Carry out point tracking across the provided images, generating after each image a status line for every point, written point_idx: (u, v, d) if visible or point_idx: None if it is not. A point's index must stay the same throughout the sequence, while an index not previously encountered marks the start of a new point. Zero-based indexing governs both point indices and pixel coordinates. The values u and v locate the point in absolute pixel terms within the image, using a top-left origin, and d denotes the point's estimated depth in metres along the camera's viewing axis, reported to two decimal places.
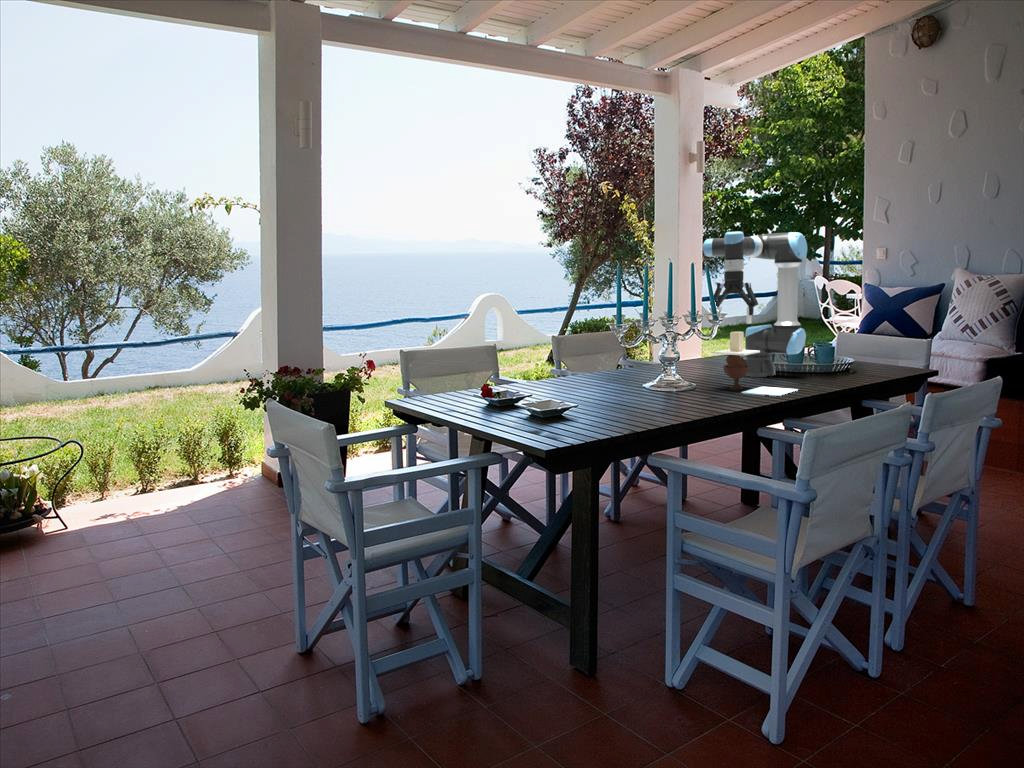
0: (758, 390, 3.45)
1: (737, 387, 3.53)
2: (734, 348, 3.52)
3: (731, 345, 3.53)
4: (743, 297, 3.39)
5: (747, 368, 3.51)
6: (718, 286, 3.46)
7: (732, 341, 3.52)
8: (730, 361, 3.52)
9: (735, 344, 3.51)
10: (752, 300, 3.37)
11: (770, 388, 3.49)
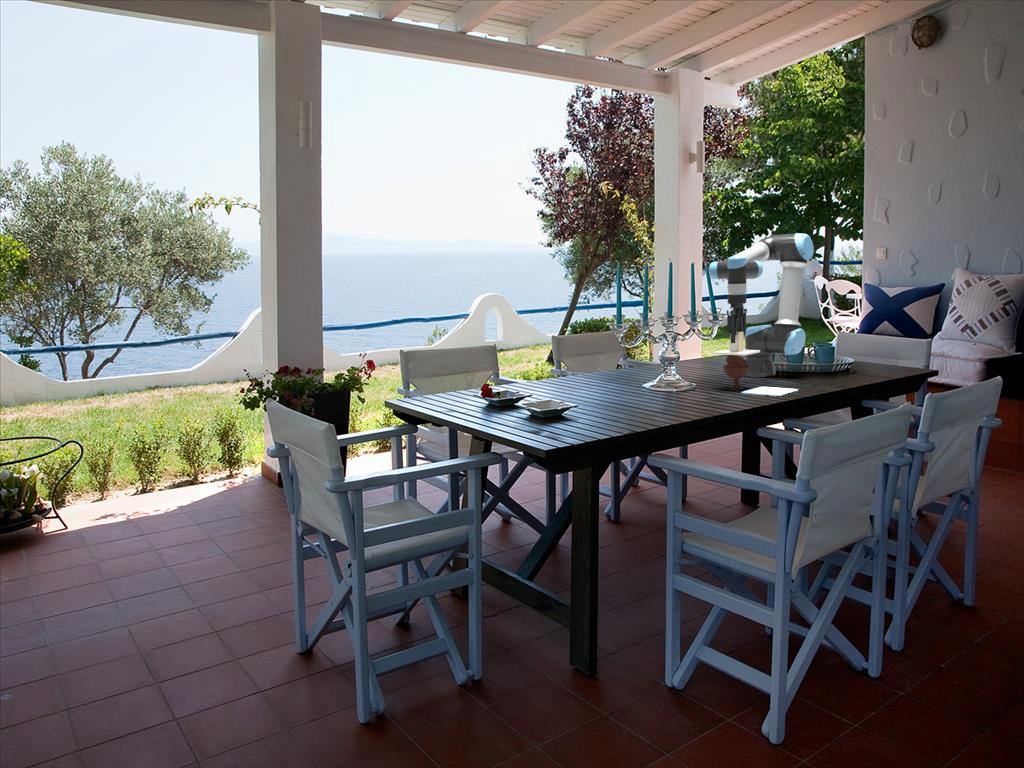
0: (758, 390, 3.45)
1: (737, 387, 3.53)
2: None
3: None
4: None
5: (747, 368, 3.51)
6: None
7: None
8: (730, 361, 3.52)
9: None
10: None
11: (770, 388, 3.49)
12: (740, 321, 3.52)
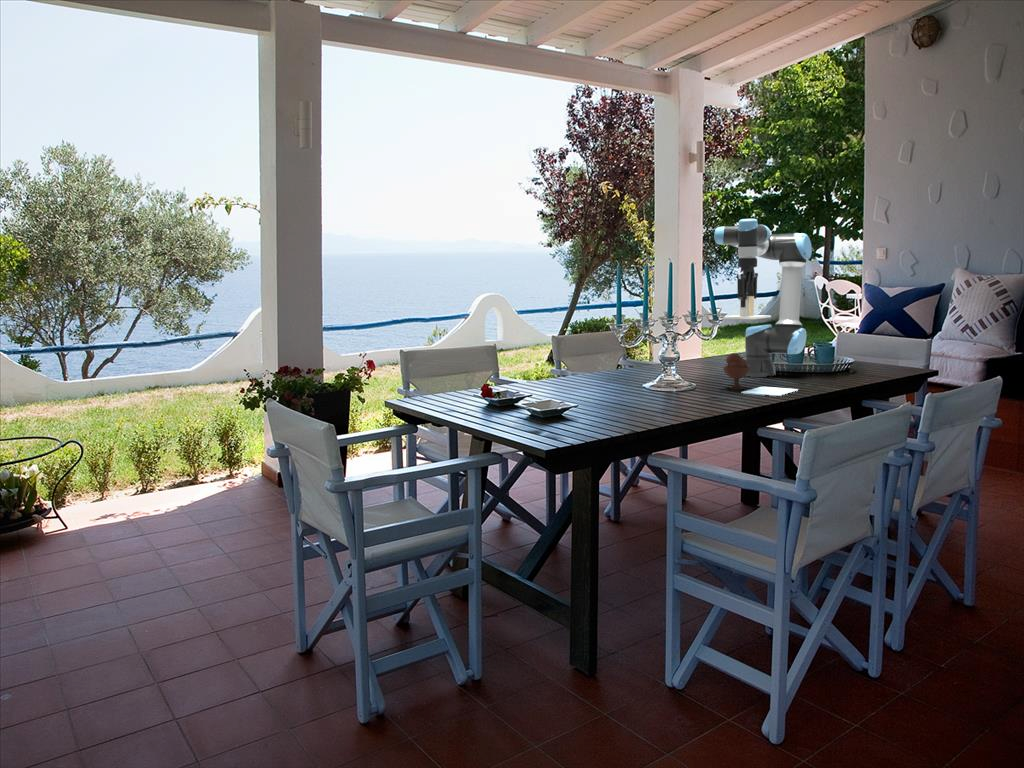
0: (758, 390, 3.45)
1: (737, 387, 3.53)
2: None
3: None
4: None
5: (747, 368, 3.51)
6: None
7: None
8: (730, 361, 3.52)
9: None
10: None
11: (770, 388, 3.49)
12: (751, 285, 3.46)
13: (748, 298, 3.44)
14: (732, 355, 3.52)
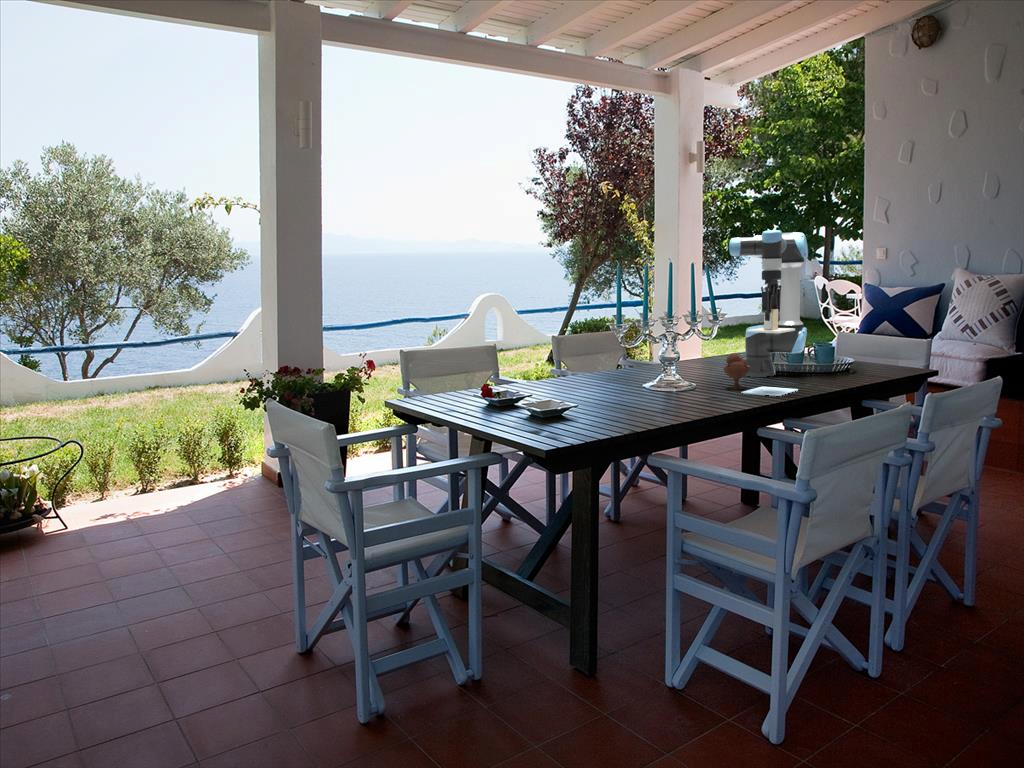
0: (758, 390, 3.45)
1: (737, 387, 3.53)
2: None
3: None
4: None
5: (747, 368, 3.51)
6: None
7: None
8: (730, 361, 3.52)
9: None
10: None
11: (770, 388, 3.49)
12: (774, 298, 3.39)
13: (772, 311, 3.36)
14: (732, 355, 3.52)
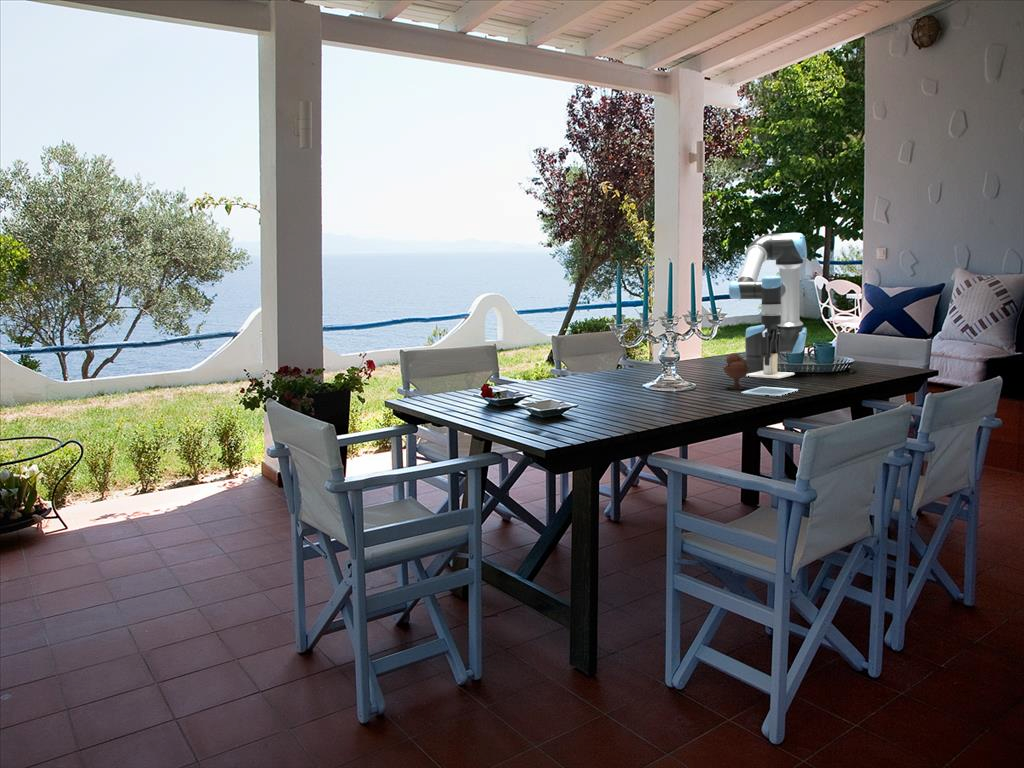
0: (758, 390, 3.45)
1: (737, 387, 3.53)
2: None
3: None
4: None
5: (747, 368, 3.51)
6: None
7: None
8: (730, 361, 3.52)
9: None
10: None
11: (770, 388, 3.49)
12: (774, 342, 3.41)
13: (772, 356, 3.39)
14: (732, 355, 3.52)
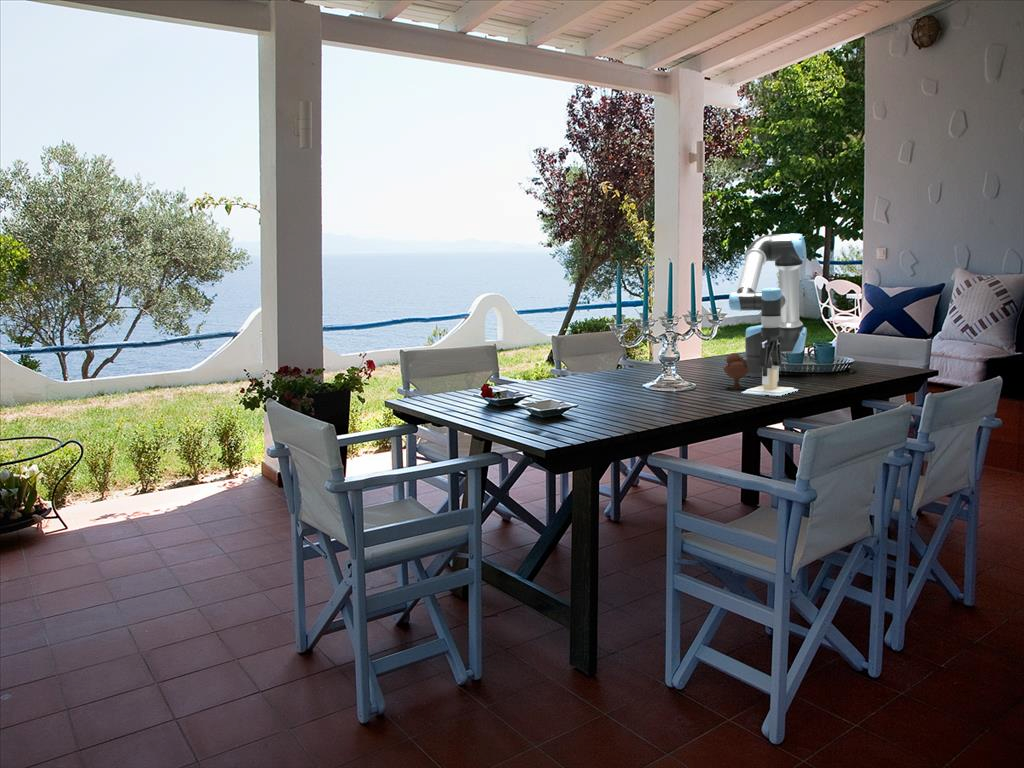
0: None
1: (737, 387, 3.53)
2: (768, 385, 3.42)
3: None
4: None
5: (747, 368, 3.51)
6: None
7: None
8: (730, 361, 3.52)
9: (769, 382, 3.41)
10: None
11: None
12: (775, 353, 3.43)
13: (772, 371, 3.40)
14: (732, 355, 3.52)
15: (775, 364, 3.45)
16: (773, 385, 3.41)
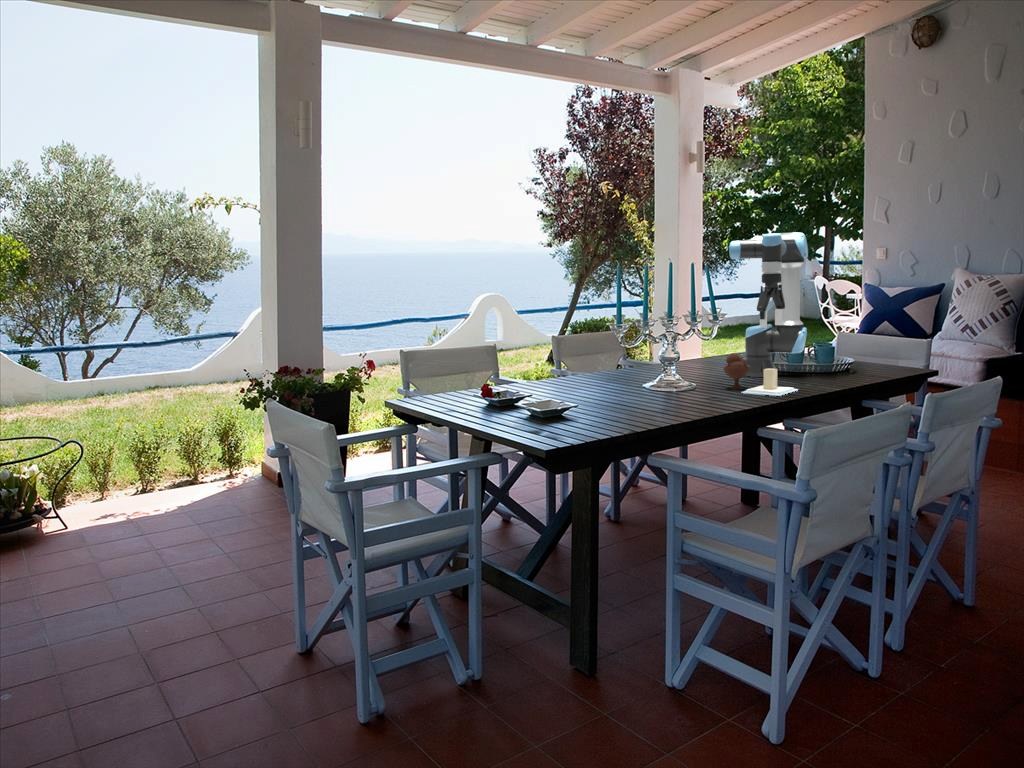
0: None
1: (737, 387, 3.53)
2: (768, 385, 3.42)
3: (764, 383, 3.42)
4: None
5: (747, 368, 3.51)
6: None
7: (766, 378, 3.42)
8: (730, 361, 3.52)
9: (769, 382, 3.41)
10: None
11: None
12: (777, 299, 3.41)
13: (772, 371, 3.40)
14: (732, 355, 3.52)
15: (779, 308, 3.44)
16: (773, 385, 3.41)
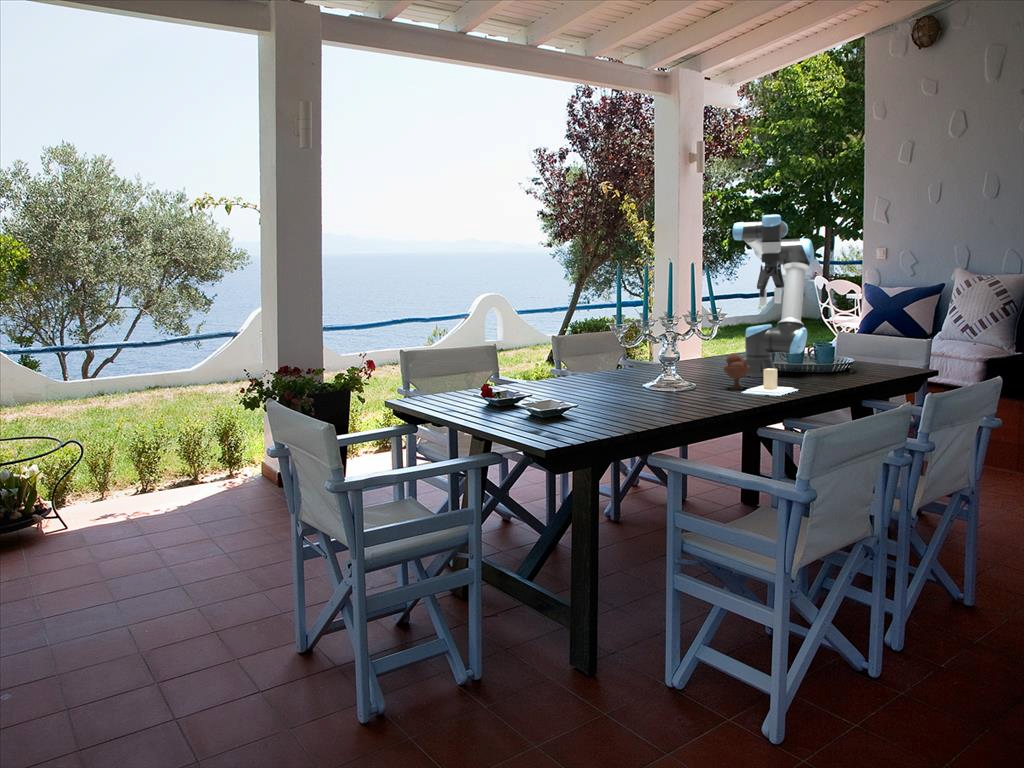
0: None
1: (737, 387, 3.53)
2: (768, 385, 3.42)
3: (764, 383, 3.42)
4: None
5: (747, 368, 3.51)
6: None
7: (766, 378, 3.42)
8: (730, 361, 3.52)
9: (769, 382, 3.41)
10: None
11: None
12: (776, 278, 3.54)
13: (772, 371, 3.40)
14: (732, 355, 3.52)
15: (778, 286, 3.58)
16: (773, 385, 3.41)
